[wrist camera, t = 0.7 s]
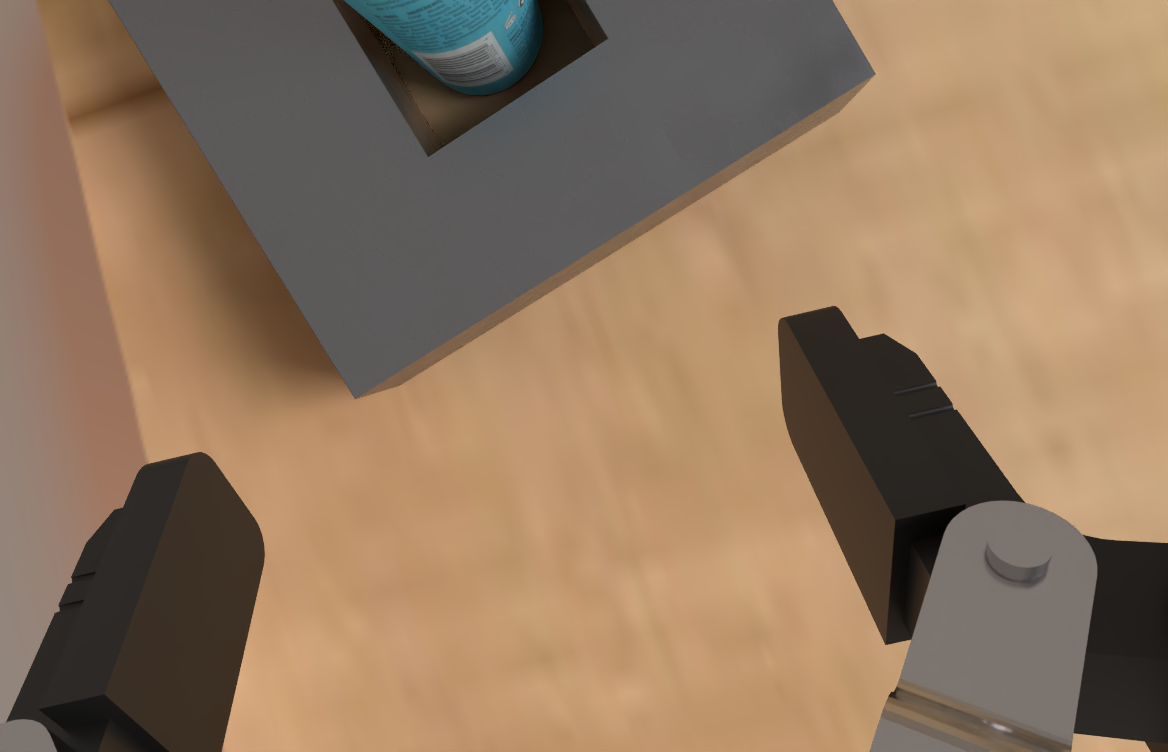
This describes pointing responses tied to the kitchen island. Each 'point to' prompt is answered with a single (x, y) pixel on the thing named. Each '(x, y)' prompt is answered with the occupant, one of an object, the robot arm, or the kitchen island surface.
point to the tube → (463, 38)
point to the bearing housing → (477, 152)
